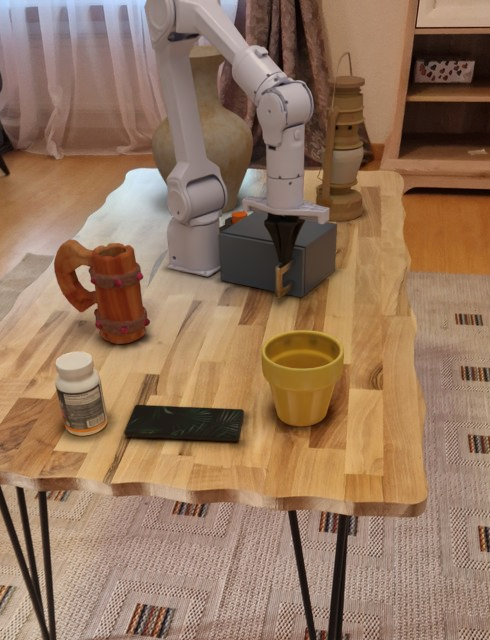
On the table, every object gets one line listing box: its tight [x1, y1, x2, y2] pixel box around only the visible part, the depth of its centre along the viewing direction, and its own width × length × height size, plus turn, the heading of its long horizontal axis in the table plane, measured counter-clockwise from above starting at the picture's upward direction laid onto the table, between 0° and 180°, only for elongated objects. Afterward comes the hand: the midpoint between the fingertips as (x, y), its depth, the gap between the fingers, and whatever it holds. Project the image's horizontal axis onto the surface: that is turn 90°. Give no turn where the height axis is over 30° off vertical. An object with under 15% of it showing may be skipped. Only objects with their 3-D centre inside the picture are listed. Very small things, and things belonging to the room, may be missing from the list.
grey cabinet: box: [222, 211, 338, 297], centre depth 130 cm, size 12×17×9 cm
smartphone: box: [123, 404, 245, 442], centre depth 96 cm, size 7×1×15 cm
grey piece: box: [218, 233, 305, 299], centre depth 125 cm, size 6×17×8 cm, turn 58°
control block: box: [219, 216, 234, 233], centre depth 148 cm, size 9×7×3 cm
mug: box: [53, 238, 151, 345], centre depth 113 cm, size 15×8×15 cm, turn 71°
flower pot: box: [260, 329, 345, 427], centre depth 94 cm, size 10×10×10 cm
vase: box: [151, 45, 254, 214], centre depth 155 cm, size 22×22×30 cm
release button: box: [231, 210, 248, 224], centre depth 147 cm, size 3×3×2 cm
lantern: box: [315, 50, 366, 222], centre depth 147 cm, size 15×10×30 cm
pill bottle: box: [54, 350, 108, 437], centre depth 95 cm, size 6×6×10 cm
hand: (285, 260), depth 120 cm, fingers closed
